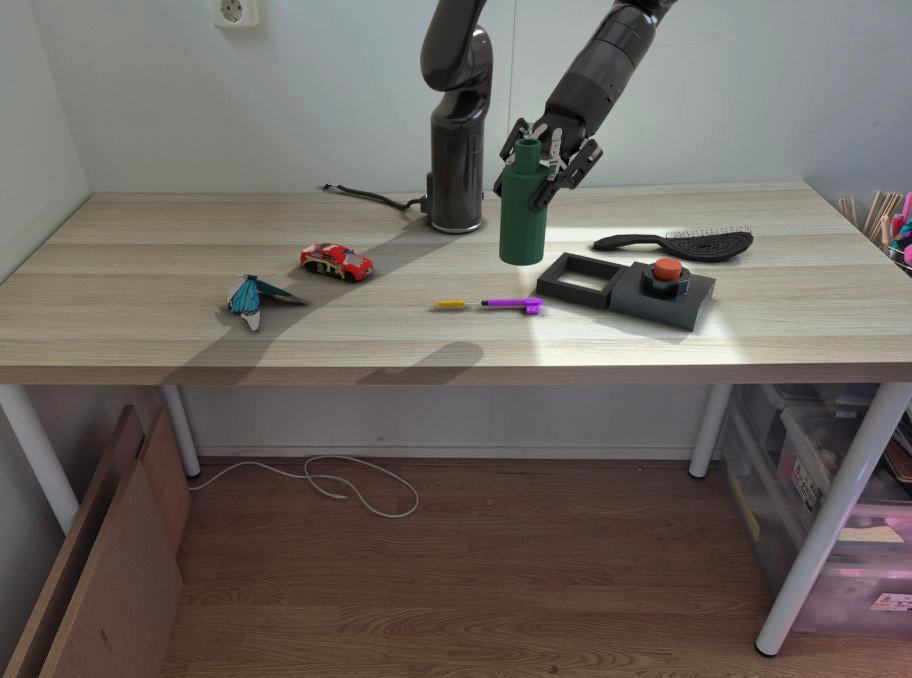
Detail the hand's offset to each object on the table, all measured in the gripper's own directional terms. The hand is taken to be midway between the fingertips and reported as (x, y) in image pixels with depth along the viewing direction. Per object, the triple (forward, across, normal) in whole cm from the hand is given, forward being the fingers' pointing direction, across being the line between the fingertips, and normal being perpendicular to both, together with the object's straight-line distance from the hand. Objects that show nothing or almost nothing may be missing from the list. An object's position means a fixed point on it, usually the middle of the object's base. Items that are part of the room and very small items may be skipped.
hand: (515, 202), depth 91 cm
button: (-5, +11, +24) cm, 26 cm away
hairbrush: (-13, 0, +39) cm, 41 cm away
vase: (+5, 0, +7) cm, 8 cm away
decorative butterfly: (+32, -27, -6) cm, 42 cm away
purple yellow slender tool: (+7, 0, +17) cm, 18 cm away
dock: (+2, -1, +24) cm, 24 cm away
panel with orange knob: (-2, +10, +27) cm, 29 cm away
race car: (+20, -30, +5) cm, 37 cm away
